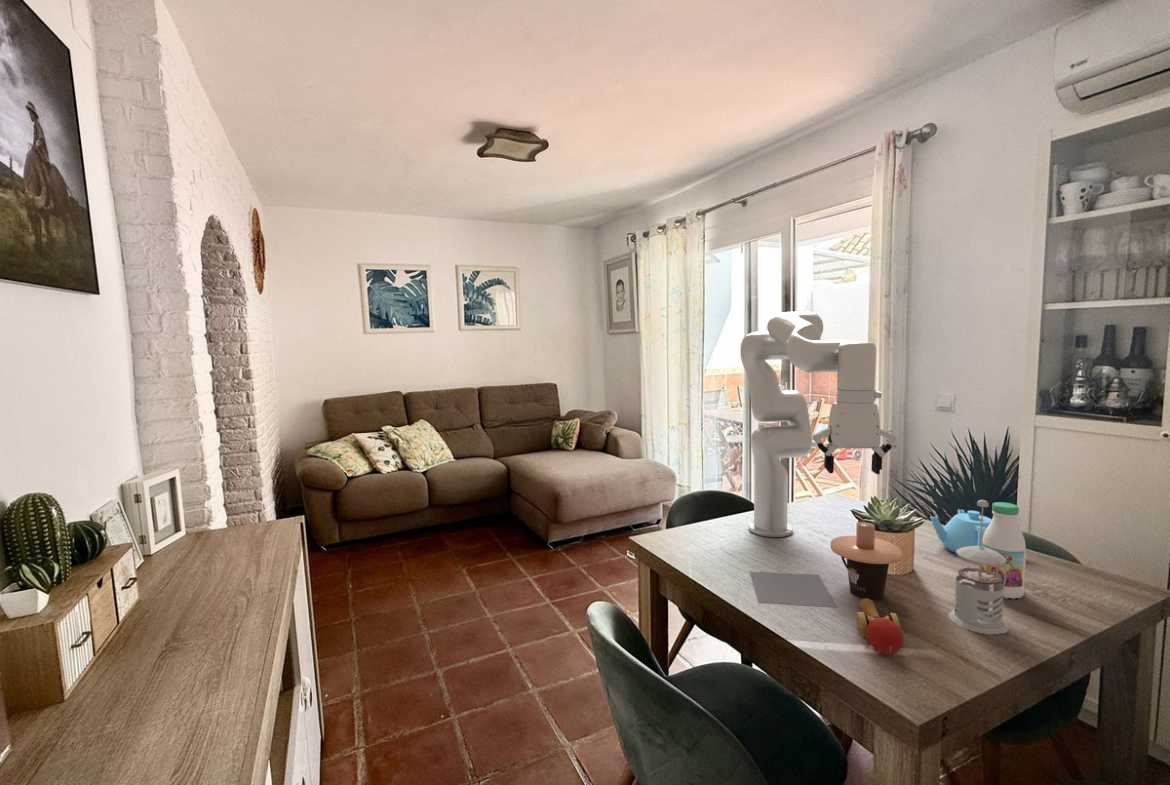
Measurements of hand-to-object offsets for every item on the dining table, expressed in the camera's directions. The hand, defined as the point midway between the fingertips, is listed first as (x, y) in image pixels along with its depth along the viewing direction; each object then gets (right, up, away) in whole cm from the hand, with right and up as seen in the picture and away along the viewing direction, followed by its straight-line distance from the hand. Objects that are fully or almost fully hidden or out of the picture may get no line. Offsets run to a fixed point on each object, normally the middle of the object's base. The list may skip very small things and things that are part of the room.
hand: (852, 472), depth 121 cm
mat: (-14, -28, +1) cm, 31 cm away
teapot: (+43, -24, +22) cm, 54 cm away
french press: (+19, -28, -13) cm, 37 cm away
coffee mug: (+2, -28, -1) cm, 28 cm away
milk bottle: (+33, -27, -1) cm, 42 cm away
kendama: (-4, -29, -16) cm, 34 cm away
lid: (+2, -17, -2) cm, 18 cm away
